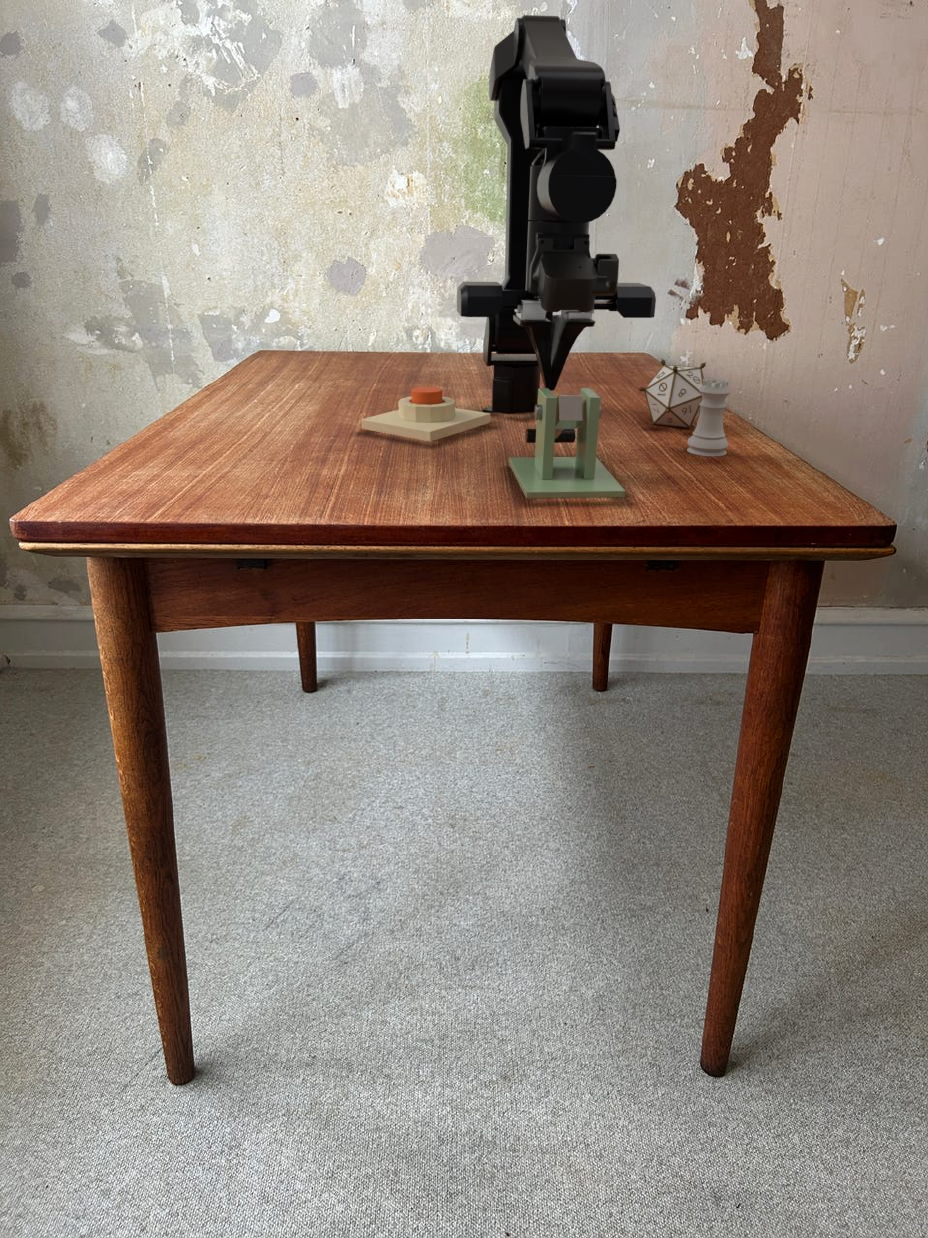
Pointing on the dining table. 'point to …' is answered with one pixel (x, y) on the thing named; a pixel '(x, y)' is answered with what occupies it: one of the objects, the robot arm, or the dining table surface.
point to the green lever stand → (565, 473)
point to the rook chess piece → (710, 420)
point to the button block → (426, 420)
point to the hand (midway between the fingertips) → (549, 389)
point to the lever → (563, 419)
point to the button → (426, 395)
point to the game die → (675, 395)
